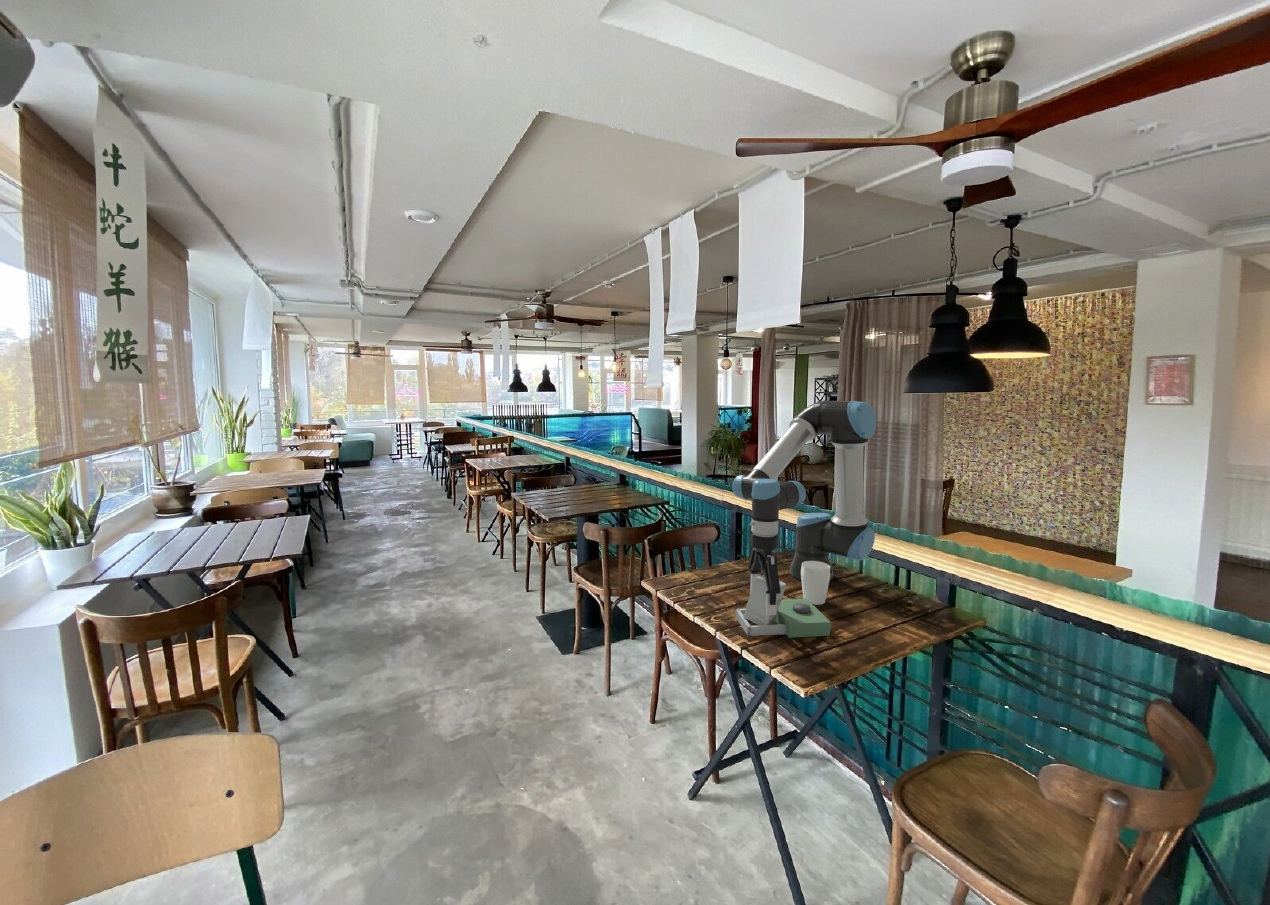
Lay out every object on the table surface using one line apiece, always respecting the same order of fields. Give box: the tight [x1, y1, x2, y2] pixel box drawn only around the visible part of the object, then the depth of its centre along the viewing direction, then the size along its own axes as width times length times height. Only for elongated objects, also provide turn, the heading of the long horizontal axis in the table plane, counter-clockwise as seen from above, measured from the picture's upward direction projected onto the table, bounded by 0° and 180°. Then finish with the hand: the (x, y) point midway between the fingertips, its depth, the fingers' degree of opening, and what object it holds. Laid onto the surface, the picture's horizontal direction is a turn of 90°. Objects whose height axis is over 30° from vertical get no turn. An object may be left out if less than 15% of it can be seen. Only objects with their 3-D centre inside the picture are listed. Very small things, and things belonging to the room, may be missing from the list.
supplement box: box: [743, 574, 787, 625], centre depth 148 cm, size 7×7×13 cm
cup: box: [801, 561, 831, 606], centre depth 165 cm, size 9×9×12 cm
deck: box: [734, 598, 832, 639], centre depth 149 cm, size 23×16×5 cm
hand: (762, 604), depth 148 cm, fingers open, 13 cm apart
